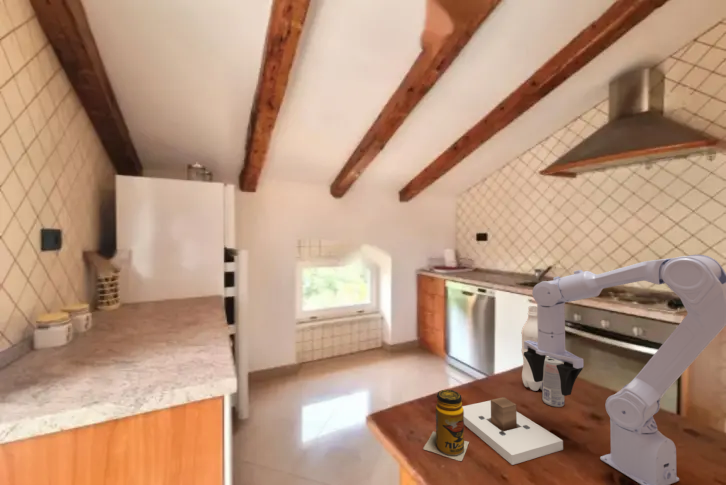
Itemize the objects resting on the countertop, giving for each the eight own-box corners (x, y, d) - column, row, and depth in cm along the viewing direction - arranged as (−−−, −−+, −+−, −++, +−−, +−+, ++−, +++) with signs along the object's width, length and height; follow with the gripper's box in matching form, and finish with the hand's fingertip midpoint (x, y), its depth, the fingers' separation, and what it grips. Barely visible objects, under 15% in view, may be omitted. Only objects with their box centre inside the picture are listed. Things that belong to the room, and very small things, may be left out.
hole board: (562, 449, 71) (562, 439, 71) (512, 465, 66) (512, 453, 66) (497, 406, 90) (496, 397, 90) (454, 415, 85) (453, 407, 85)
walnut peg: (516, 434, 77) (516, 404, 77) (503, 437, 75) (502, 407, 75) (504, 425, 81) (503, 397, 81) (491, 428, 79) (490, 399, 79)
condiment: (461, 462, 67) (461, 404, 67) (422, 449, 72) (422, 395, 72) (469, 443, 74) (468, 390, 74) (432, 432, 78) (432, 382, 78)
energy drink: (558, 398, 94) (557, 356, 94) (568, 407, 88) (567, 363, 88) (539, 397, 94) (538, 356, 94) (547, 407, 89) (547, 363, 89)
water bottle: (528, 380, 106) (527, 303, 106) (552, 387, 100) (551, 307, 100) (517, 387, 101) (516, 307, 101) (542, 395, 96) (541, 310, 96)
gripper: (514, 325, 83) (515, 378, 83) (566, 341, 70) (567, 404, 70) (535, 322, 86) (536, 374, 86) (590, 337, 72) (590, 398, 72)
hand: (551, 387), depth 78 cm, fingers open, 7 cm apart
